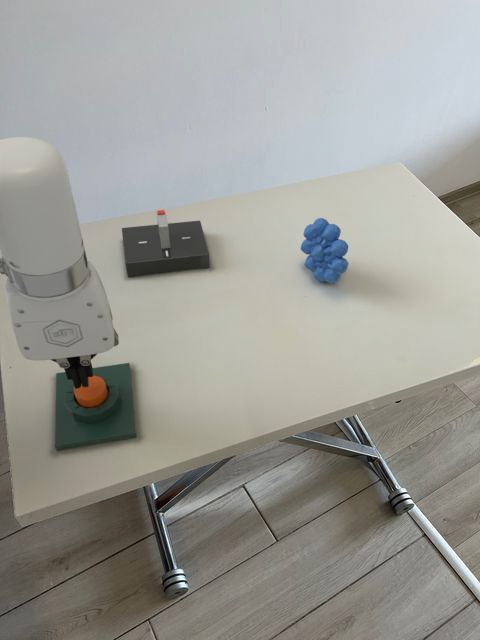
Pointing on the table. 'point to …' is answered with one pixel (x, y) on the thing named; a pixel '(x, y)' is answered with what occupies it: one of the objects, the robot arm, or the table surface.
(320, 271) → the grapes
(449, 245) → the table surface
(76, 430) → the control block
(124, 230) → the lever switch base
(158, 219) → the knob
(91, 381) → the button
